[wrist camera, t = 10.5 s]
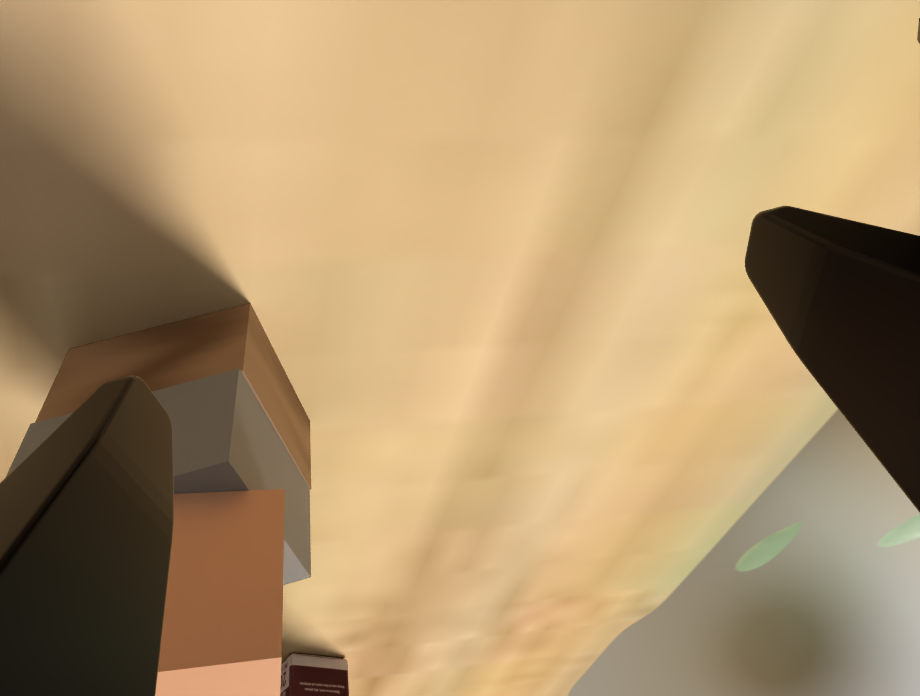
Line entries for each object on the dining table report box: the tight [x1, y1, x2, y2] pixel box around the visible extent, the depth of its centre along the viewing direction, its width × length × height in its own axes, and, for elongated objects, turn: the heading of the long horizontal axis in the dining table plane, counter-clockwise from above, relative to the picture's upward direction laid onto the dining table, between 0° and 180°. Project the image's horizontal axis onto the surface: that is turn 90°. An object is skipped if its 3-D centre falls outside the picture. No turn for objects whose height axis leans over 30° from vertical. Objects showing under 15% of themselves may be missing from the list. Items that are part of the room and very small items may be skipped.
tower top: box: [6, 369, 311, 585], centre depth 20 cm, size 7×7×4 cm
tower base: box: [35, 303, 311, 490], centre depth 23 cm, size 7×7×4 cm
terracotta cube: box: [155, 489, 285, 696], centre depth 17 cm, size 5×5×5 cm
